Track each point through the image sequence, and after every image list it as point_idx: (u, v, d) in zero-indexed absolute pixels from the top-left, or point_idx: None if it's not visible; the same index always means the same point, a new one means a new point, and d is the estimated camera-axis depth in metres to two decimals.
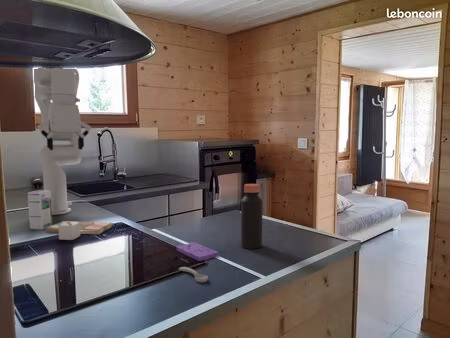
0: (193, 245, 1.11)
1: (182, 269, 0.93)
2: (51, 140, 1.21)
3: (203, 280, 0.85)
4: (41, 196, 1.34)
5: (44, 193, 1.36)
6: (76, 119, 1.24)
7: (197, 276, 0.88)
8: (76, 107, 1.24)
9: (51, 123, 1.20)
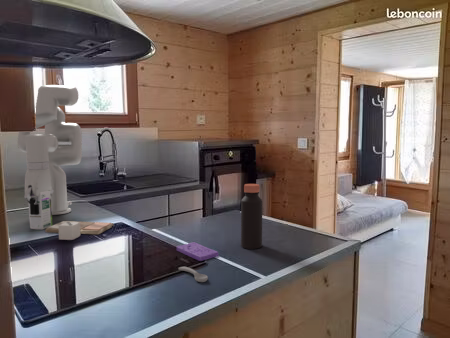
0: (193, 245, 1.11)
1: (182, 269, 0.93)
2: (38, 206, 1.34)
3: (203, 280, 0.86)
4: (41, 196, 1.34)
5: (44, 193, 1.36)
6: (49, 182, 1.40)
7: (197, 276, 0.88)
8: (49, 171, 1.39)
9: (35, 189, 1.32)
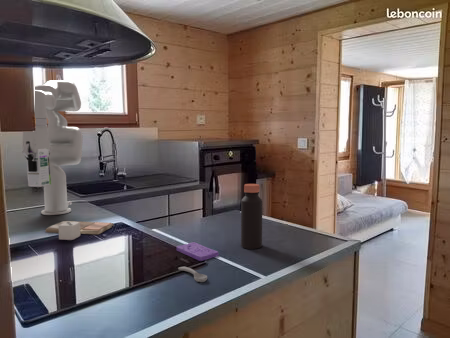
0: (193, 245, 1.11)
1: (181, 269, 0.93)
2: (36, 162, 1.33)
3: (202, 280, 0.86)
4: (39, 153, 1.33)
5: (42, 150, 1.35)
6: (47, 140, 1.38)
7: (196, 276, 0.89)
8: (47, 129, 1.38)
9: (33, 145, 1.31)
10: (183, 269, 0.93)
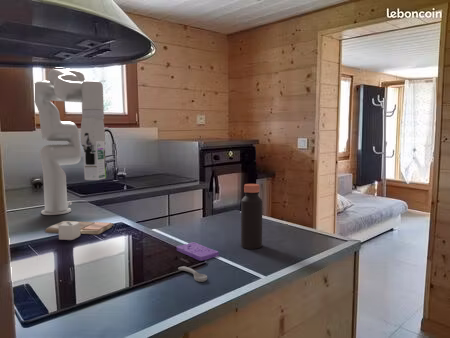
0: (193, 245, 1.11)
1: (181, 268, 0.94)
2: None
3: (202, 279, 0.86)
4: (97, 145, 1.29)
5: (99, 143, 1.31)
6: (103, 132, 1.34)
7: (196, 275, 0.89)
8: None
9: (92, 137, 1.27)
10: (183, 269, 0.93)
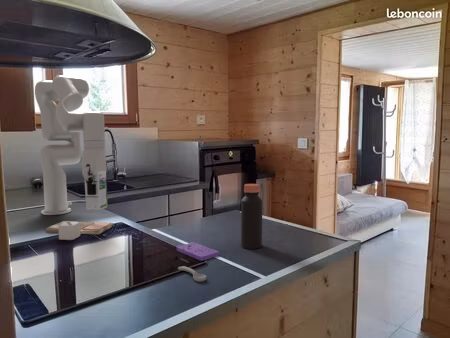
0: (193, 245, 1.11)
1: (181, 268, 0.94)
2: (95, 186, 1.30)
3: (201, 279, 0.86)
4: (98, 175, 1.30)
5: (101, 173, 1.32)
6: (105, 162, 1.35)
7: (195, 275, 0.89)
8: (104, 151, 1.35)
9: (93, 168, 1.28)
10: (182, 269, 0.93)
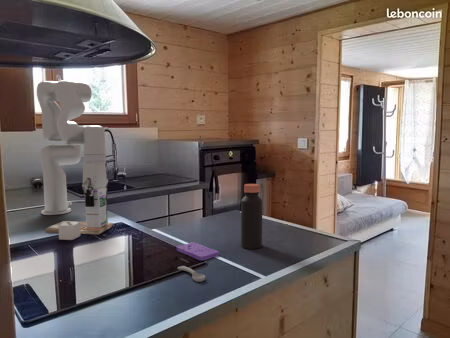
0: (193, 245, 1.11)
1: (181, 268, 0.94)
2: (93, 197, 1.28)
3: (200, 279, 0.86)
4: (99, 193, 1.31)
5: (101, 190, 1.32)
6: (105, 175, 1.36)
7: (195, 275, 0.89)
8: None
9: (94, 182, 1.28)
10: (182, 268, 0.93)
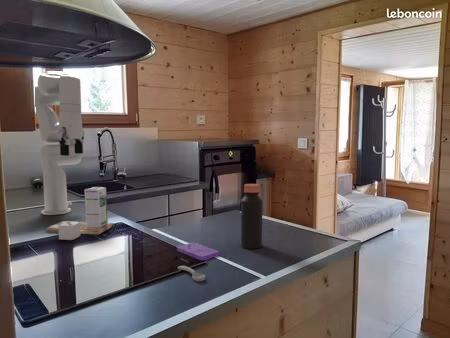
0: (193, 245, 1.11)
1: (181, 268, 0.94)
2: (68, 146, 1.31)
3: (200, 279, 0.86)
4: (99, 193, 1.31)
5: (101, 190, 1.32)
6: (81, 126, 1.38)
7: (195, 275, 0.89)
8: (80, 116, 1.37)
9: (69, 131, 1.30)
10: (182, 268, 0.93)
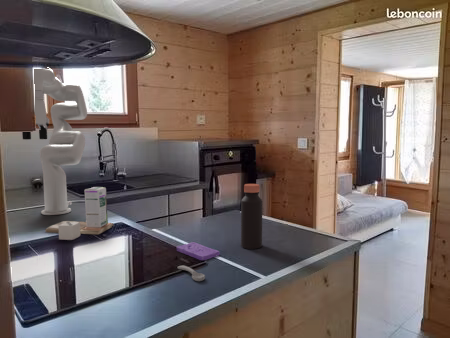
0: (193, 245, 1.11)
1: (180, 268, 0.94)
2: None
3: (200, 279, 0.86)
4: (99, 193, 1.31)
5: (101, 190, 1.32)
6: (44, 113, 1.44)
7: (194, 275, 0.89)
8: None
9: None
10: (182, 268, 0.94)
